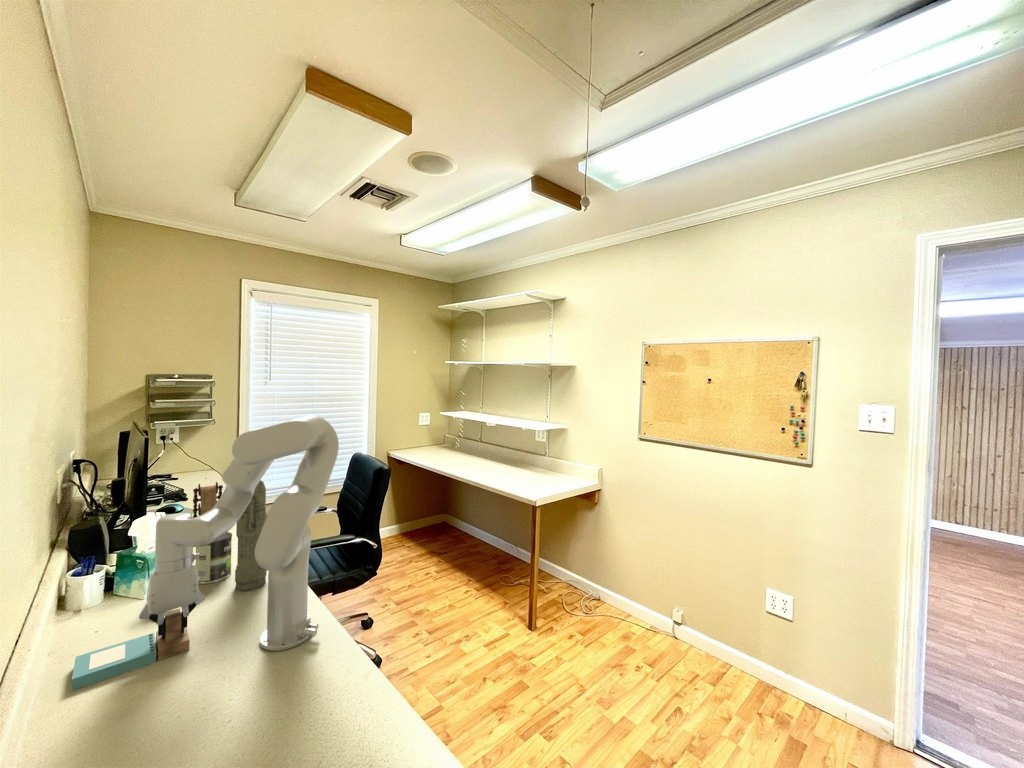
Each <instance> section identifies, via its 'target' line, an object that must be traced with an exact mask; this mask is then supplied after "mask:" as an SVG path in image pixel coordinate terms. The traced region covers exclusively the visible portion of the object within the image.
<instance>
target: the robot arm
mask: <svg viewBox="0 0 1024 768" xmlns="http://www.w3.org/2000/svg"><path fill="white" fill-rule="evenodd" d="M338 437H339V436H338V434H337V432H336V430H335V428H334V427H333V426H332V424H330V422H329V421H328V420H326V419H324V418H323V417H320V416H318V415H308V416H303V417H298V418H295V419H291V420H288V421H283V422H281V423H276V424H272V425H269V426H265V427H260V428H255V429H251V430H248V431H244V432H243V433H241V434H239V436H237V437H236V438H235V440H234V441H233V444H232V448H231V455H232V460H231V462H230V463H229V465H228V466H227V467H226V468H225V470H224V472H223V473H222V476H221V480H222V482H223V483H224V485H225V487H224V488H225V489H224V491H222V495H221V497H220V499H219V500H218V499H217V500H216V501H217V503H216V504H215V506H214V507H213V508H212V509H211V510H210V511H208V512H206V513H204V514H202V515H201V516H200V515H197V516H198V517H195V518H193V515H192V514H190V513H188V512H187V513H186V512H178V513H171V514H168V515H167V514H166V515H164V516H162V517H160V518H159V519H158V520H157V522H156V525H155V549H154V550H155V551H154V552H155V553H154V555H155V556H154V569H153V570H152V571H151V572H150V575H149V580H148V586H147V595H146V596H147V597H146V603H145V605H143V608H142V609H141V611H140V613H139V614H138V618H139V619H140V620H149V621H151V622H153V623H155V624H157V631H158V636H160V635H161V636H162V640H163V639H165V638H166V622H165V612H169V611H172V610H176V609H179V608H181V610H182V611H180V612H181V616H182V617H181V634H182V633H184V628H186V627H187V628H188V617H189V615H190V614H191V612H193V611H194V609H195V608H196V607H197V606H198V605H200V604H201V603H203V602H204V601H205V600H206V597H205V595H204V594H203V593H202V591H200V589H199V583H198V574H197V567H196V559H199V558H200V554H199V553H198V554H196V552H195V553H194V548H196V547H204V546H207V545H209V544H210V543H212V542H213V541H215V540H216V539H218V538H219V537H220V536H222V535H223V534H225V533H226V532H230V530H231V529H232V528H233V527H234V526H235V525H237V521H238V520H239V518H240V517H241V515H242V514H243V512H244V511H245V509H246V508H247V506H248V504H249V503H250V501H251V498H252V496H253V494H254V490H255V488H256V486H257V485H258V483H259V481H260V480H261V481H262V478H263V477H264V475H265V473H267V471H268V469H269V468H270V466H271V465H272V463H273V462H274V461H275V460H278V459H281V458H284V457H289V456H292V455H296V454H299V453H302V452H304V451H305V452H304V455H303V457H302V459H301V461H300V463H299V465H298V467H297V468H298V469H297V471H296V473H295V476H294V478H293V481H292V482H291V485H290V486H289V487H288V488H287V489H286V490H285V491H283V492H282V493H280V494H279V495H278V496H277V497H276V498H275V499H274V501H273V503H272V504H271V505H270V507H269V510H268V513H267V518H266V520H265V523H264V525H263V528H262V530H261V533H260V535H259V538H258V540H257V543H256V546H255V560H256V562H257V564H258V565H259V566H260V567H261V568H262V569H264V570H266V572H268V575H267V611H266V614H267V615H266V618H267V619H266V630H264V631H263V633H262V634H261V635H260V638H259V645H260V648H262V649H264V650H266V651H270V652H271V651H272V652H278V651H285V650H288V649H289V650H290V649H292V648H294V647H297V646H299V645H301V644H302V643H304V642H306V640H309V638H310V637H311V638H315V637H316V636H317V634H318V629H319V623H312V622H311V621H312V620H311V619H312V618H311V615H308V599H309V598H308V589H309V588H308V586H309V562H310V561H309V559H310V550H311V545H312V544H311V542H312V530H311V526H310V525H309V521H310V519H311V518H312V517H313V516H314V515H315V514H316V513H317V511H318V510H319V508H320V507H321V504H322V501H323V498H324V494H325V493H326V489H327V487H328V484H329V482H330V479H331V475H332V473H333V470H334V467H335V465H336V461H337V459H338V454H339V447H340V446H339V445H340V443H339V438H338Z"/></svg>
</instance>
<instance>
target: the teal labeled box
mask: <svg viewBox="0 0 1024 768" xmlns="http://www.w3.org/2000/svg"><path fill="white" fill-rule="evenodd" d="M156 662H157V646H156V635H155V632H152V633H148V634H145V635H142V636H140V637H136V638H132V639H129V640H126V641H123V642H119V643H116V644H113V645H109V646H106V647H104V648H100V649H96V650H93V651H90V652H87V653H83V654H81V655H76V656H75V659H74V665H73V671H72V676H71V691H75V690H78V689H80V688H83V687H86V686H89V685H92V684H95V683H97V682H100V681H101V682H102V681H103V680H106V679H109V678H111V677H115V676H117V675H121V674H124V673H127V672H130V671H132V670H133V671H134V670H136V669H139V668H141V667H144V666H146V665H150V664H153V663H156Z"/></svg>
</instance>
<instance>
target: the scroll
mask: <svg viewBox="0 0 1024 768" xmlns="http://www.w3.org/2000/svg"><path fill="white" fill-rule="evenodd" d="M223 488H224V486H223V485H222V484H219V482H218V481H216V482H215V485H208V486H207V485H206V486H201V484H200V483H198V486H197V487H195V488H194V489H193V490H192V491H193V498H192V503H193V506H192V507H193V509H192V514H193V515H192V516H193V518H195V517H198V516H201V515H202V514H204V513H206V512H208V511H210V510H211V509H212V508H213V507H214V506H215V504H216V503H217V501H218V500H219V499H220V497H221V495H222V494H223ZM217 494H218V495H217ZM198 497H200V498H198ZM198 502H199V503H198Z"/></svg>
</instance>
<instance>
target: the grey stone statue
mask: <svg viewBox="0 0 1024 768" xmlns="http://www.w3.org/2000/svg"><path fill="white" fill-rule="evenodd" d="M266 496H267V488H266V485H265V483H264V480H262V479H261V480H260V481H259V483H258V485H257V486H256V488H255V490H254V494H253V496H252V498H251V501H250V503H249V504H248V506H247V508H246V509H245V511H244V512H243V514H242V515H241V517H240V518H239V520H238V521H237V522H236V530H235V531H236V533H235V535H236V537H237V564H236V567H235V573H234V581H235V591H237V592H249V591H251V592H252V591H254V590H257V589H259V588H261V587H263V586H265V584H266V582H267V580H266V576H267V570H264V569H262V568H261V567H260V566H259V565H258V564H257V562H256V560H255V546H256V543H257V540H258V538H259V535H260V533H261V530H262V528H263V525H264V523H265V520H266V518H267V515H268V513H267V511H266V502H267V501H266V500H267V499H266V498H267V497H266Z"/></svg>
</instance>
